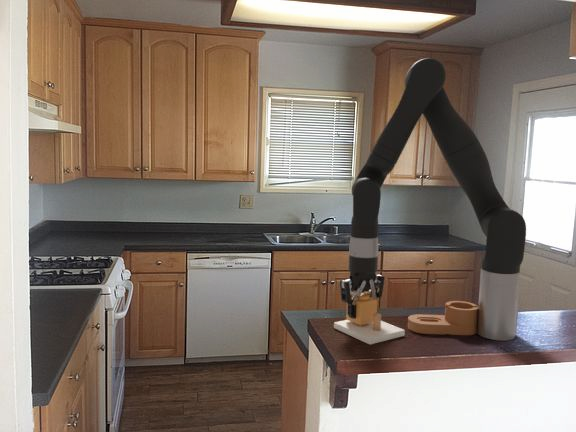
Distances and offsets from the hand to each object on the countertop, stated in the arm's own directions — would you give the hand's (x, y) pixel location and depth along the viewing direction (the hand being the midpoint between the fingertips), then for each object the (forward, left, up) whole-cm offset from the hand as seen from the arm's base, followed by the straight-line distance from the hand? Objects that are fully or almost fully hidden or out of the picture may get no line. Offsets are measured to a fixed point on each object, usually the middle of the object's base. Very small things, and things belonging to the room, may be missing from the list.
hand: (361, 315), depth 137 cm
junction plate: (0, +3, -4) cm, 5 cm away
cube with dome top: (0, 0, -1) cm, 1 cm away
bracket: (-18, +12, -4) cm, 22 cm away
